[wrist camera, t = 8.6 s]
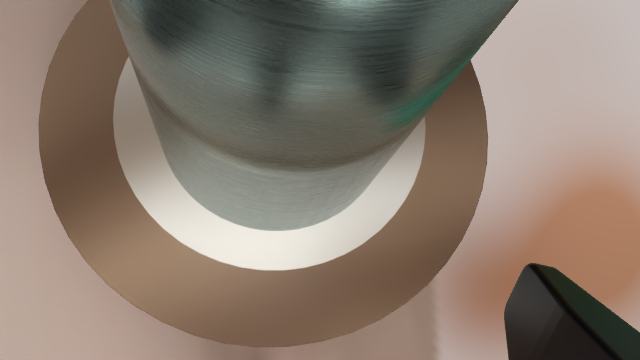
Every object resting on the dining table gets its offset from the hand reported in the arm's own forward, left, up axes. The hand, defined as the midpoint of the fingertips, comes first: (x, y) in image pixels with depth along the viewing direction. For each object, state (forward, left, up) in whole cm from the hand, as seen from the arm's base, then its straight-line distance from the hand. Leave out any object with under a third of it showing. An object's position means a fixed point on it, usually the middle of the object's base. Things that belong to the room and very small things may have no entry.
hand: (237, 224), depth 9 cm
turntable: (+4, -3, -9) cm, 10 cm away
